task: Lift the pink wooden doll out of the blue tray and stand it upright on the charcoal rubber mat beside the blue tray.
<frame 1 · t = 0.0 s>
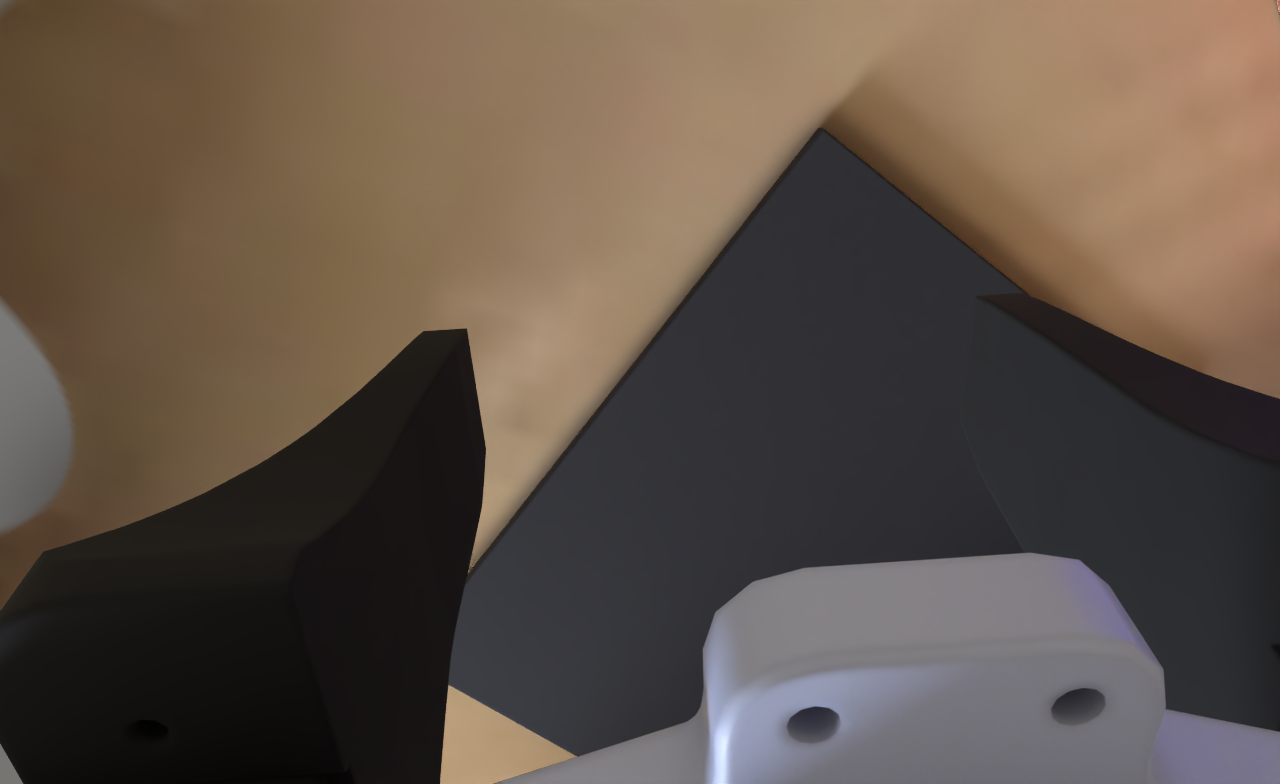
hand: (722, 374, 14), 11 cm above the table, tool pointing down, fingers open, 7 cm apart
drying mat: (771, 532, 27), on the table
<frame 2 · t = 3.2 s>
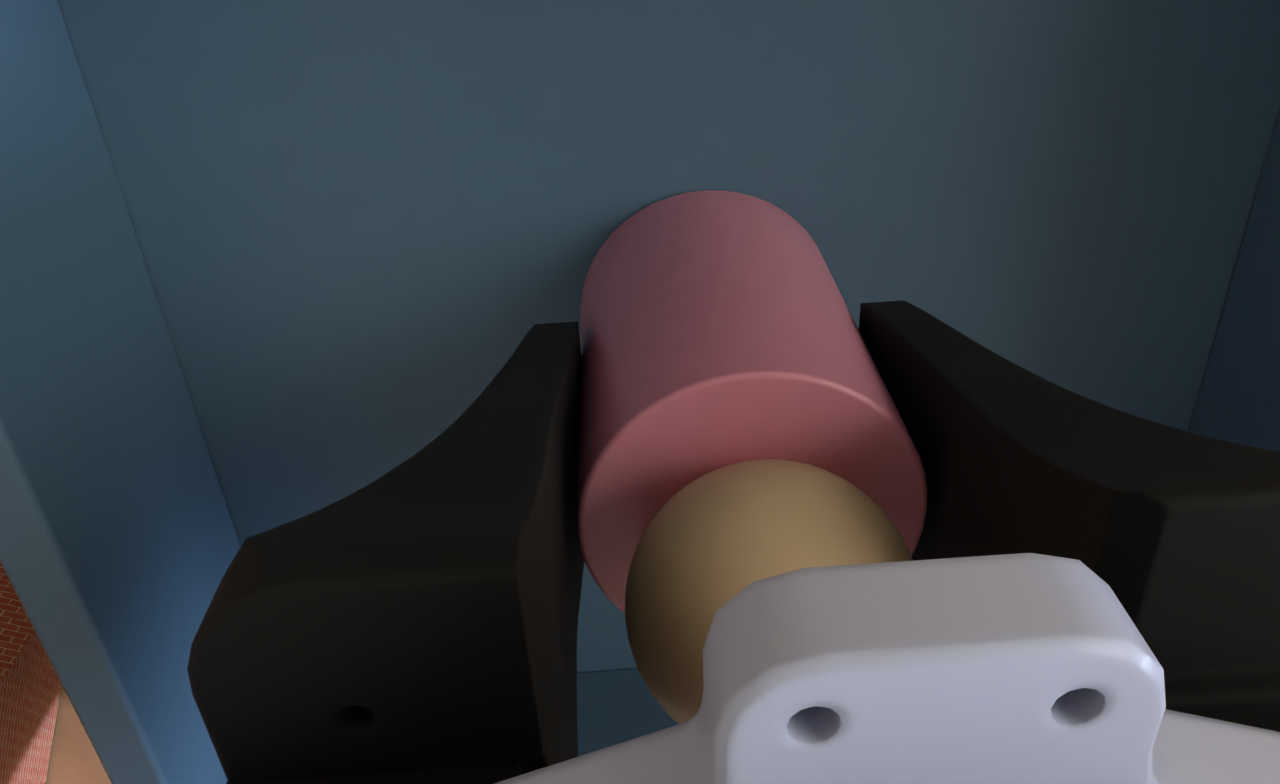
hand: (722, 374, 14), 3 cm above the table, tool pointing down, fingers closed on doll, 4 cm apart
blue tray: (702, 294, 16), on the table
doll: (705, 307, 16), point 1 cm above the table, touching blue tray, gripper
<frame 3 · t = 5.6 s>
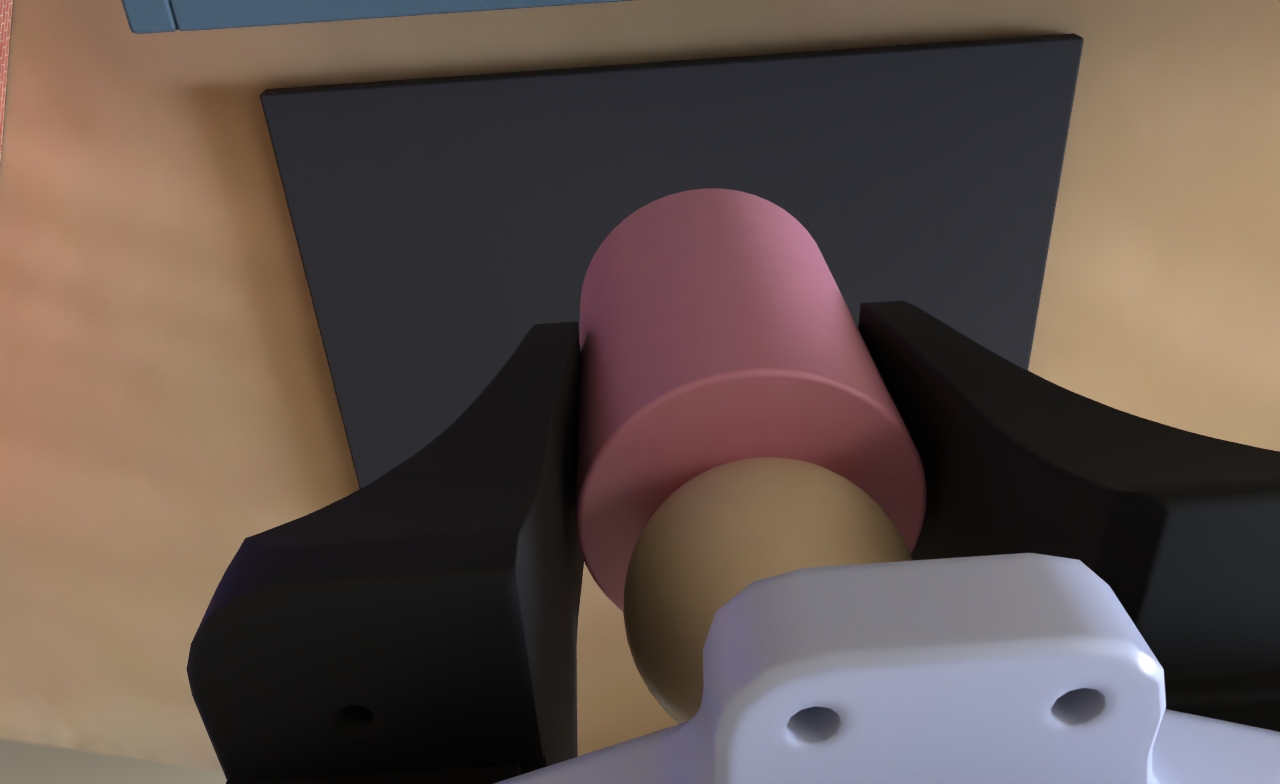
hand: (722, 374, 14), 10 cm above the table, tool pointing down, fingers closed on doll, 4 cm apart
doll: (705, 306, 16), point 8 cm above the table, touching gripper
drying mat: (680, 303, 25), on the table
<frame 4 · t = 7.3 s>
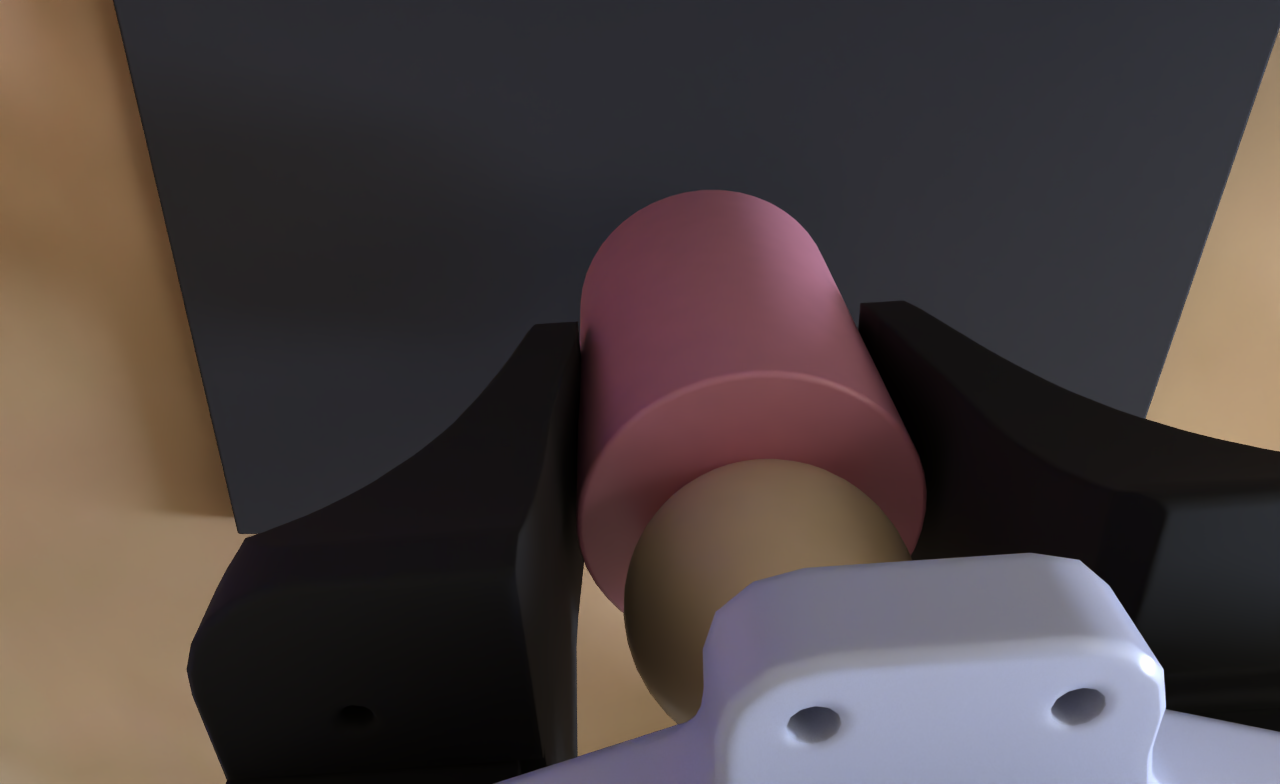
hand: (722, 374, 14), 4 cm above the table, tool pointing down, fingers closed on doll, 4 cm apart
doll: (705, 307, 16), point 2 cm above the table, touching gripper
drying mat: (696, 252, 18), on the table
when the fingers open (3 cm above the table, at t = 8.3 s): doll stays where it is, resting on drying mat.
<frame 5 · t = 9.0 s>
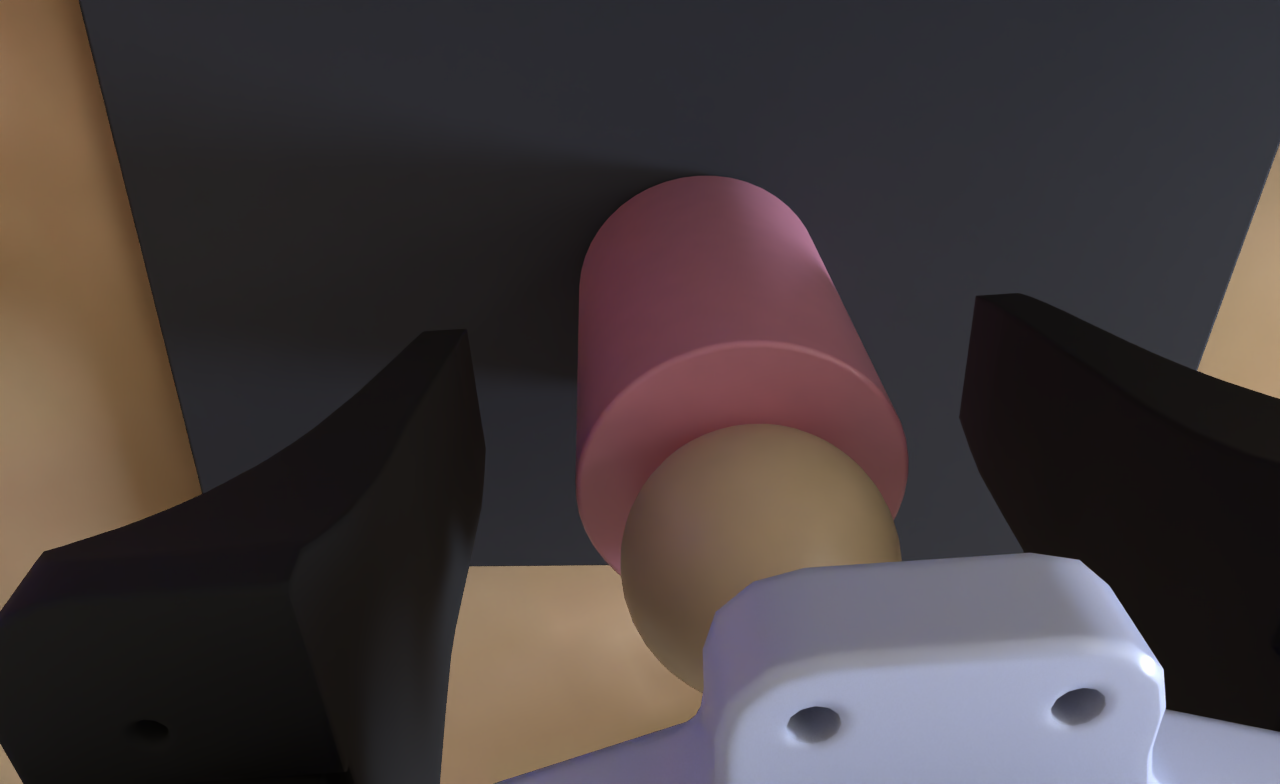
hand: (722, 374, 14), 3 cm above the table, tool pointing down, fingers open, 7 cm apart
doll: (699, 290, 17), resting on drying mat
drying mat: (699, 277, 17), on the table
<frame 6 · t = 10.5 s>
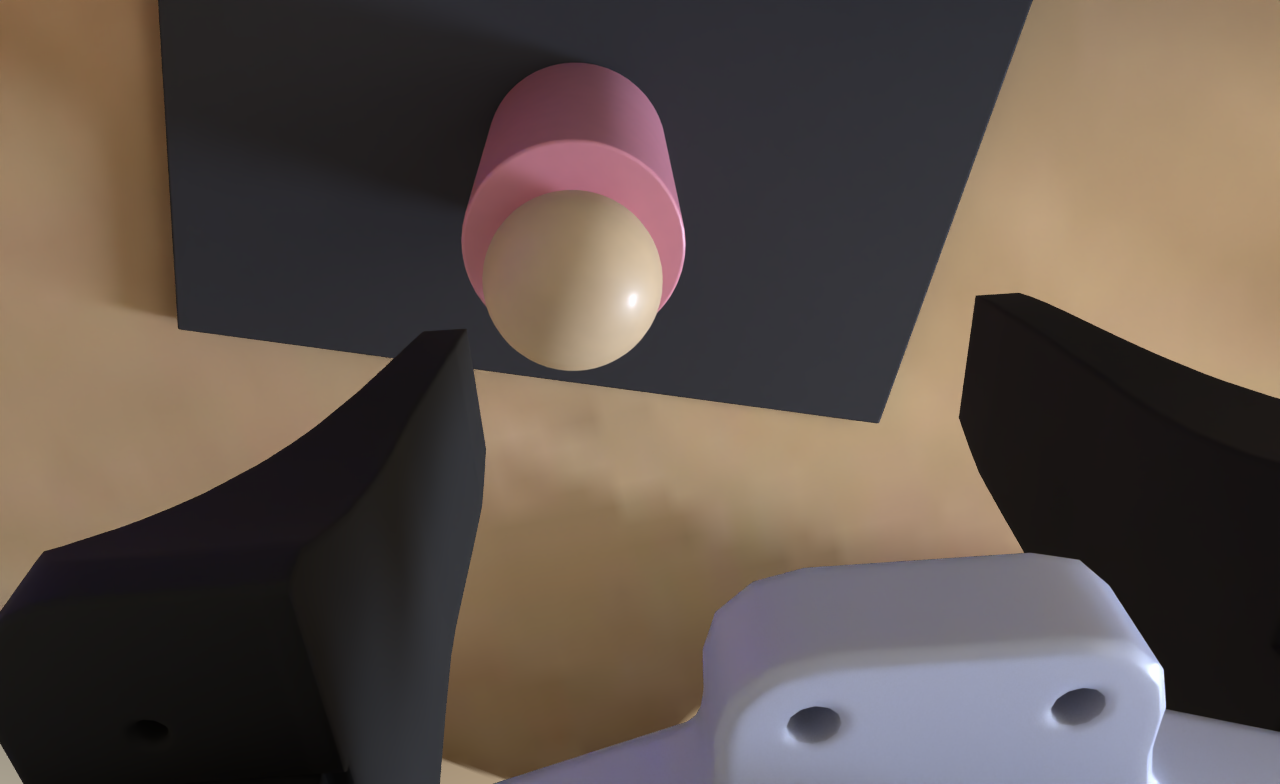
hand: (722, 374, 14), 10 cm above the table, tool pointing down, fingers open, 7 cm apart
doll: (577, 152, 23), resting on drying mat
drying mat: (579, 146, 23), on the table
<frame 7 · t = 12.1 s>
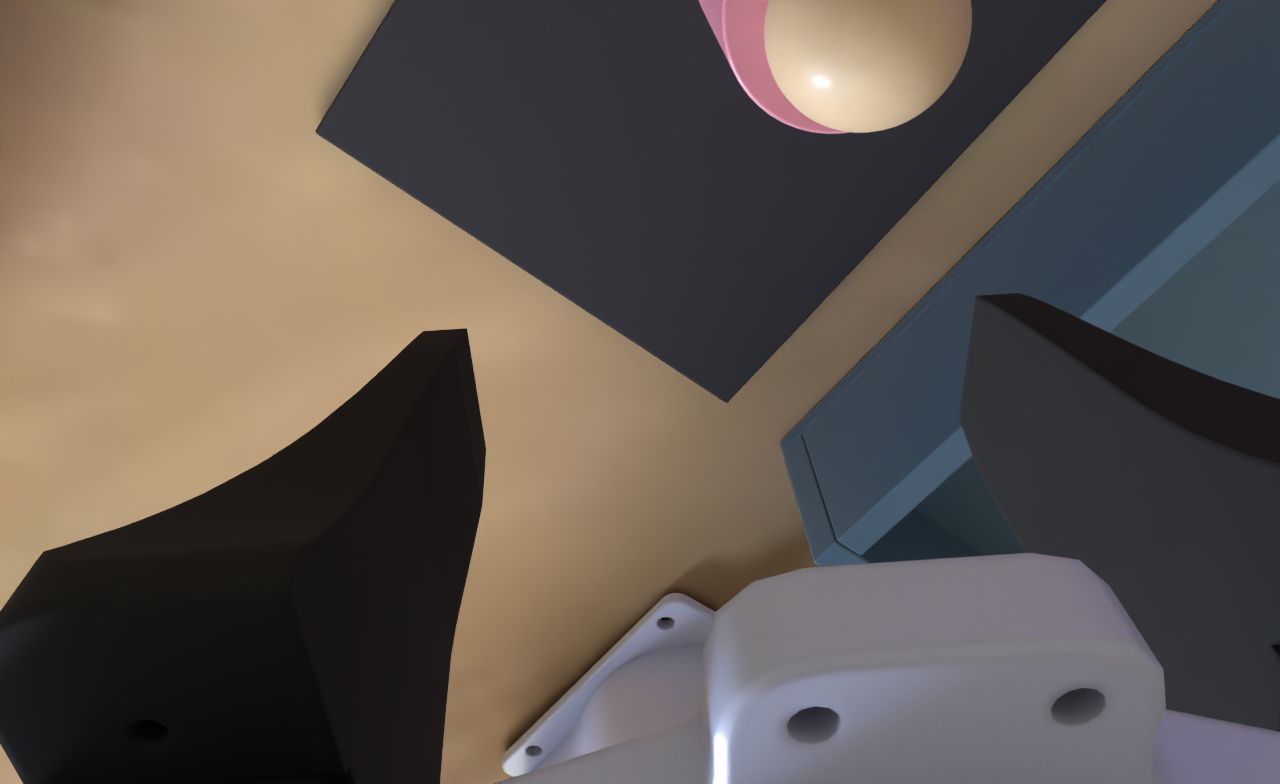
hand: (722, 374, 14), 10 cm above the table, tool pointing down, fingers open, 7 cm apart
blue tray: (1249, 370, 27), on the table
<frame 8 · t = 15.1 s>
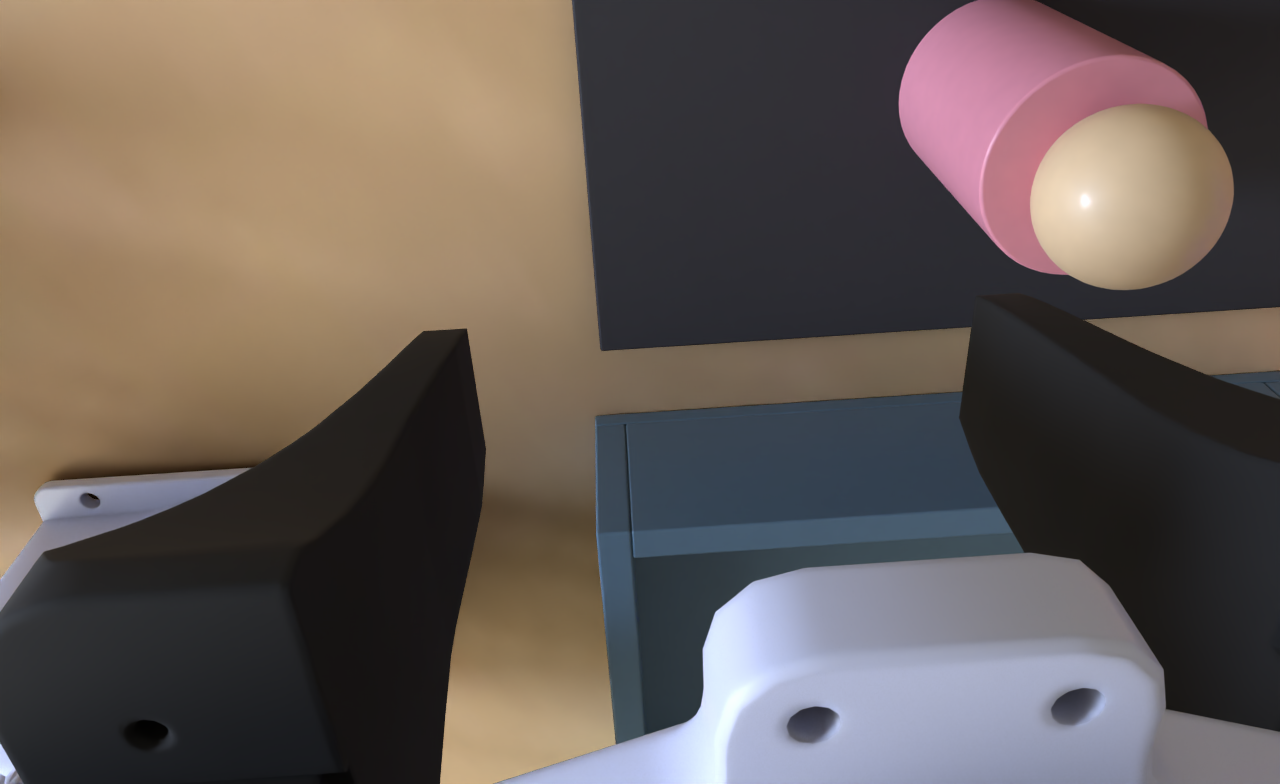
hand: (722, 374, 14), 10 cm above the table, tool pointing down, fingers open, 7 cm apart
blue tray: (909, 630, 32), on the table
doll: (987, 90, 22), resting on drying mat
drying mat: (977, 84, 23), on the table
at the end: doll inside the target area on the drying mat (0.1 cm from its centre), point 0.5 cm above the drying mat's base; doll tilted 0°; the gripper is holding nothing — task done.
